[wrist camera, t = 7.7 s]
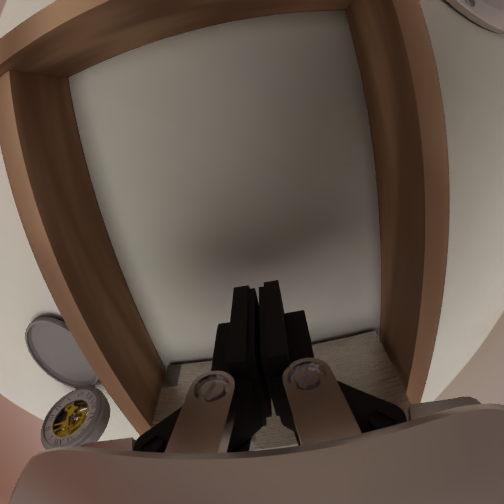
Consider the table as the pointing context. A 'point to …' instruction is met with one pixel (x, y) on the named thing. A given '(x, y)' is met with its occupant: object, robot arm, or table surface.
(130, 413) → the frame
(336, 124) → the table surface
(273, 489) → the robot arm
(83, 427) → the pocket watch
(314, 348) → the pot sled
